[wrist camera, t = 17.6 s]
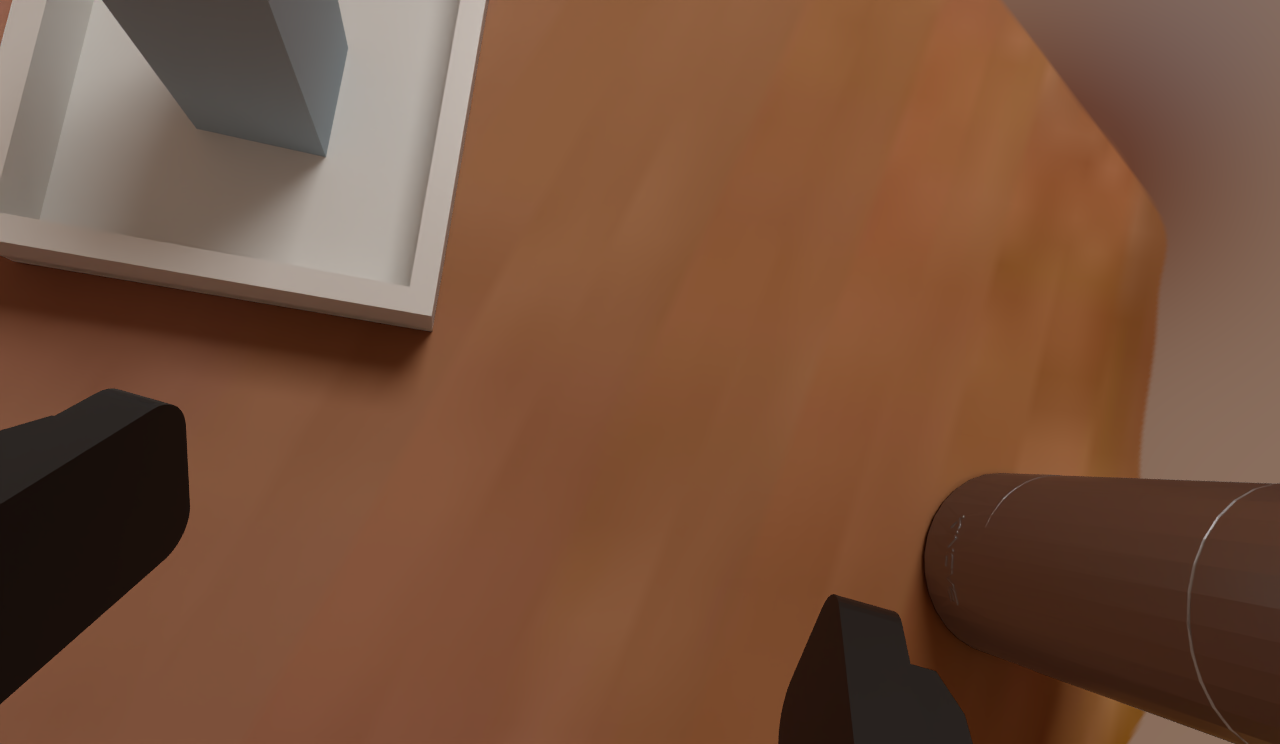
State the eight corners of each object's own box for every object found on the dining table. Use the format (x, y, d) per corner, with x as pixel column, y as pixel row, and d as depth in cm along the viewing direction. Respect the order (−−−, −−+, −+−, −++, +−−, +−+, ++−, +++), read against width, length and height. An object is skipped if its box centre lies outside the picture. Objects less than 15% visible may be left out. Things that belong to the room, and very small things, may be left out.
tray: (495, -40, 36) (502, -99, 32) (431, 331, 34) (431, 316, 30) (116, -149, 33) (73, -229, 29) (12, 261, 30) (-49, 233, 26)
